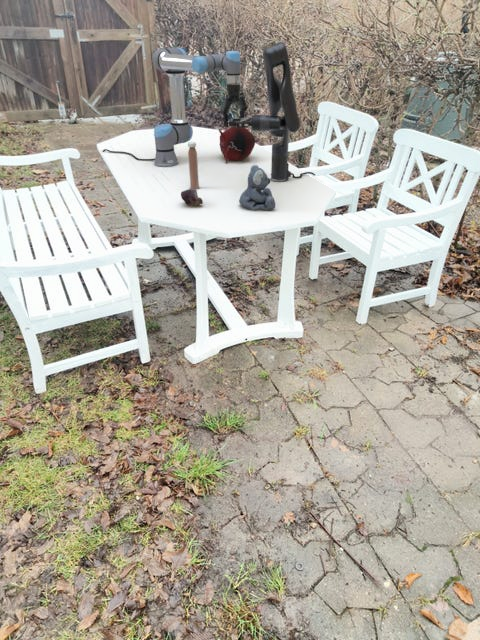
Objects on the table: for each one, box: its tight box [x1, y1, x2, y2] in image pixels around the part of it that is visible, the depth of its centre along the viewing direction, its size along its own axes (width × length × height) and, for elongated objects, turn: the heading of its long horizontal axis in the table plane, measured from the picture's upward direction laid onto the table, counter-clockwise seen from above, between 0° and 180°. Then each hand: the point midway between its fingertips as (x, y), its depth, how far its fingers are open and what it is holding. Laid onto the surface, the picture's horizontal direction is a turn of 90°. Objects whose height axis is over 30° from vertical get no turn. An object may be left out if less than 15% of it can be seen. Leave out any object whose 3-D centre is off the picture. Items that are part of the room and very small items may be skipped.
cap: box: [187, 141, 197, 148], centre depth 240 cm, size 4×4×2 cm
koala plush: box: [238, 164, 276, 211], centre depth 224 cm, size 17×18×20 cm
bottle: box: [187, 146, 200, 190], centre depth 247 cm, size 5×5×24 cm
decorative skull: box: [218, 126, 256, 164], centre depth 298 cm, size 21×24×25 cm
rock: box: [180, 188, 204, 207], centre depth 229 cm, size 12×9×10 cm
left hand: (234, 125), depth 259 cm, fingers open, 13 cm apart
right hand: (230, 122), depth 232 cm, fingers open, 8 cm apart
